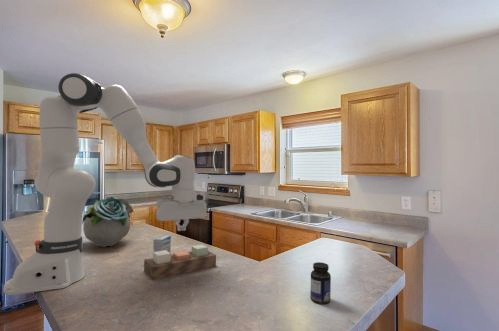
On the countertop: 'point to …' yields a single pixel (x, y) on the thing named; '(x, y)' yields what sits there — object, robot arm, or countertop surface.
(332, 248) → the countertop surface
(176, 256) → the terracotta key
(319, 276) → the pill bottle
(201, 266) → the key panel
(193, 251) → the sage key
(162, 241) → the medicine box
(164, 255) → the cream key
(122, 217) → the flower arrangement
